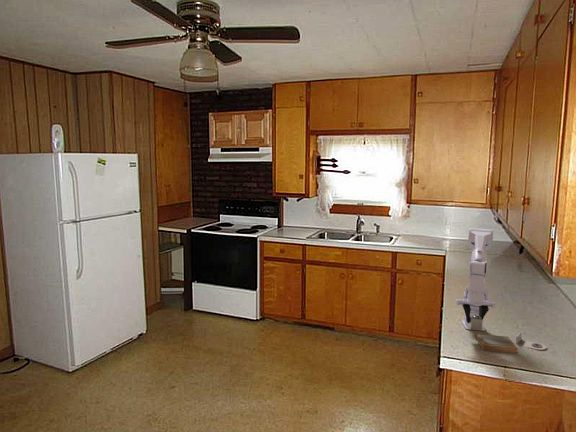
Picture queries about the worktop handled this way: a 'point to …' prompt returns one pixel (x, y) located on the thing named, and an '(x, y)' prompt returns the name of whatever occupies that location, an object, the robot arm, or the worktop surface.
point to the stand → (496, 343)
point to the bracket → (531, 344)
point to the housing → (475, 321)
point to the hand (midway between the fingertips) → (473, 322)
